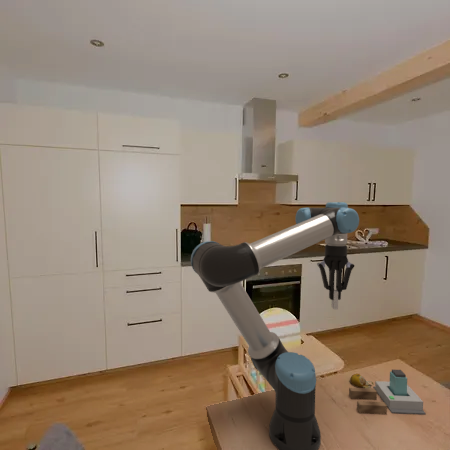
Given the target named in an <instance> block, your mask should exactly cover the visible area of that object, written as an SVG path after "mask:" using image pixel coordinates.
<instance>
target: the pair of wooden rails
mask: <svg viewBox="0 0 450 450" xmlns="http://www.w3.org/2000/svg"><path fill="white" fill-rule="evenodd" d="M348 389H349V390H348V396H349V398H350V399H351V400H356V411H357V413H358V414H366V415H367V414H369V415H387V412H388V407H387V405H386V404H385V403H384V402H383V401H377V395H378V393H377V391H376V390H375V389H374V388H373V387H371V388H365V387H362V388H358V387H349V388H348ZM369 400H370V401H369Z"/></svg>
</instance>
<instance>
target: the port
mask: <svg viewBox="0 0 450 450" xmlns="http://www.w3.org/2000/svg"><path fill="white" fill-rule="evenodd" d="M374 383H375V384H374V386H372V388H374V389H375V390H376V391H377V395H378V396H379V398H380V399H381V400H382V402H384V403H385V404H386V405H387V410H389V412H390V413H391V414H397V415H398V414H402V415H419V416H420V415H421V416H422V415H425V416H426V414H427V413H426V412H425V411H424V401H423V400H422V399H421V397H420V396H419V395H418V394H417V393H416V392H415V391H414V390H413V389H412V388H411V387H410V385H408V384H407V396H394V395H393V394H392V392H391V391H390V390H389V384H390V381H383V380H382V381H375V382H374Z"/></svg>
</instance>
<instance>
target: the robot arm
mask: <svg viewBox="0 0 450 450" xmlns="http://www.w3.org/2000/svg"><path fill="white" fill-rule="evenodd" d="M295 223H296V224H293V225H291V226H289V227H287V228H284V229H282V230H279V231H277V232H274V233H273V234H269V235H267V236H265V237H263V238H261V239H260V238H259V239H258V240H255V241H253V242H251V243H249V242H247V241H246V242H245V241H244V242H242V243H239V244H235V245H231V246H229V245H227V246H226V245H223V244H221V243H219V242H217V241H213V240H209V241H203V242H201V243H199V244H198V245H196V246H195V247H194V249H192V253H191V256H190V265H191V267H192V270H193V271H194V273H196V274H197V275H198V277H200V280H201V282H203V284H204V286H205V287H206V289H207V291H208V292H210V293H213V294H216V296H217V297H218V299H219V301H220V303H221V304H222V305H223V307H224V308H225V310H226V311H227V313H228V315H229V316H230V318H231V320H232V321H233V323H234V324H235V326H236V328H237V330H238V331H239V332H240V334H241V336H242V337H243V340H245V342H246V344H247V347H248V349H247V353H248V355H249V358H250V359H251V363H252V365H253V366H254V368H255V369H256V370H257V371H258V372H259V373H260V375H262V377H263V378H264V379H265V380H266V381H267V383H268V384H269V386H270V387H271V388H272V389H273V390H274V392H275V393H274V394H275V403H274V404H275V407H274V410H273V414H272V416H271V419H270V421H269V432H268V434H269V437H270V441H271V442H272V443H273V445H274V446H275V447H276V448H277V449H278V450H319V448H320V447H321V439H322V438H321V437H322V435H321V429H320V426H319V422H318V420H317V418H316V389H317V388H316V385H317V376H316V369H315V366H314V364H313V361H311V360H310V359H309V358H308V357H306V356H305V355H303V354H299V353H298V352H295V351H294V352H293V351H292V352H291V351H288V349H286V348H285V346H284V344H283V342H282V341H281V340H280V338H279V336H278V335H277V333H275V332H273V331H270V329H269V328H268V326H267V324H266V322H265V321H264V320H263V318H262V316H261V314H260V313H259V311H258V309H257V307H256V306H255V304H254V303H253V301H252V299H251V298H250V296H249V294H248V293H247V291H246V289H245V288H244V286H243V284H242V282H243V281H246V280H248V279H250V278H252V277H255V276H257V275H259V274H260V271H261V269H263V268H265V267H267V266H270V265H272V264H274V263H276V262H278V261H281V260H282V259H285V258H287V257H290V256H291V255H294V254H296V253H298V252H300V251H303V250H304V249H307V248H308V247H312V246H313V245H316V244H319V243H320V242H323V241H324V243H325V246H324V257H323V260H322V261H320V262H317V264H316V265H317V267H318V268H319V270H320V276H321V280H322V283H323V287H324V289H325V290H327V291H328V298H329V300H331V308H332V309H333V310H339V301H340V300H342V299H341V298H342V292H343V291H345V290H347V287H348V284H349V282H350V278H351V273H352V271H353V269H354V267H355V264H354V263H351V262H350V261H349V259H348V257H347V256H348V246H347V244H348V234H352V233H353V232H356V230H357V229H358V227H359V225H360V217H359V214H358V212H357V210H355V209H354V208H350V207H349V205H348V203H347V202H343V201H341V202H340V201H334V202H333V201H331V202H329V201H328V202H326V204H325V207H307V206H306V207H302V208H299V209H298V210H297V211H296V214H295ZM326 267H327V268H328V276H327V273H326V269H325V268H326ZM344 268H345V271H344V273H343V269H344ZM335 276H336V277H335ZM327 277H328V278H327Z"/></svg>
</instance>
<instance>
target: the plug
mask: <svg viewBox="0 0 450 450" xmlns="http://www.w3.org/2000/svg"><path fill="white" fill-rule="evenodd" d="M389 382H390V384H389V390H390V391H391V392H392V394H393V395H394V396H407V385H408V377H407V376H406V374H405V372H403V370H401V369H391V371H389Z"/></svg>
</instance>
